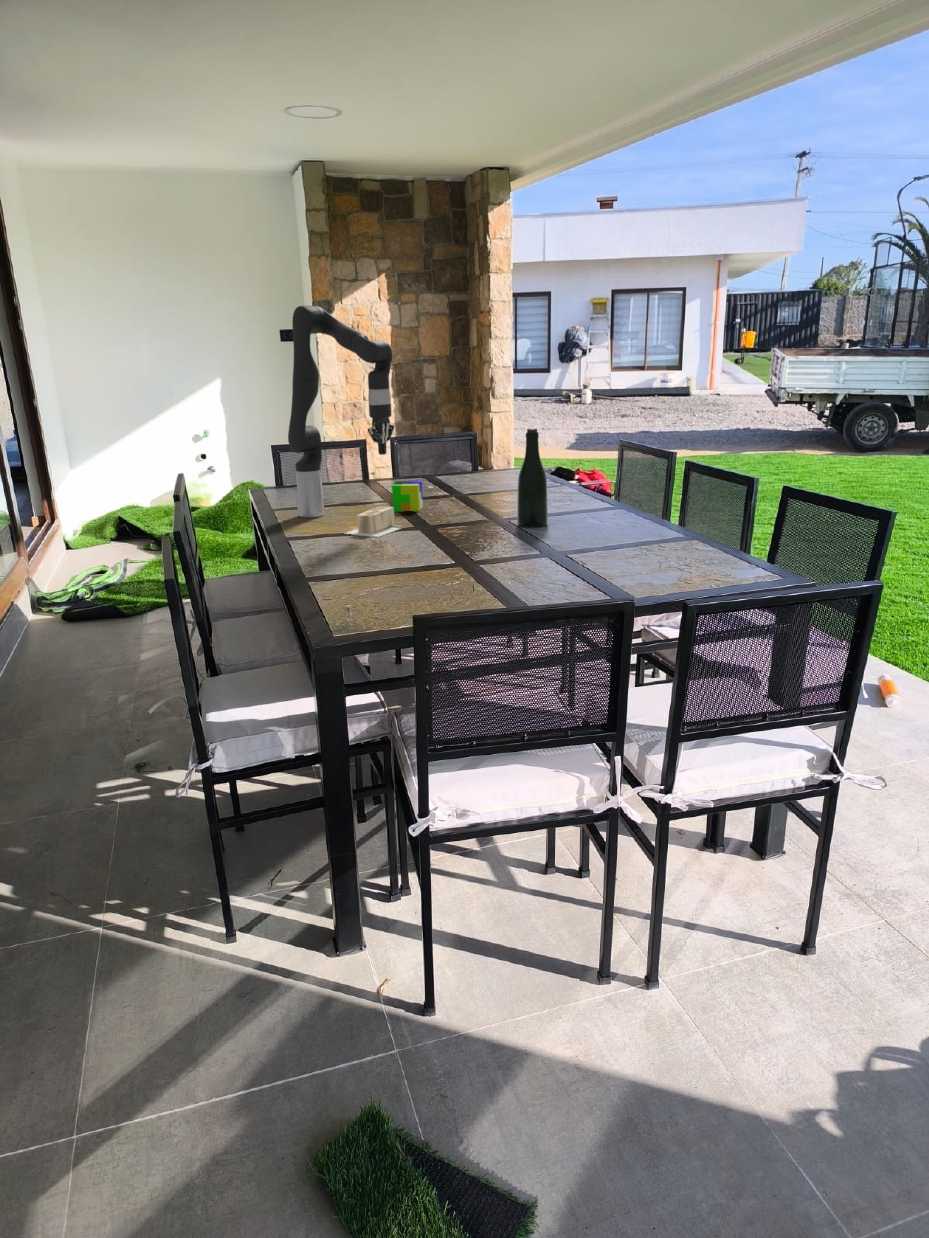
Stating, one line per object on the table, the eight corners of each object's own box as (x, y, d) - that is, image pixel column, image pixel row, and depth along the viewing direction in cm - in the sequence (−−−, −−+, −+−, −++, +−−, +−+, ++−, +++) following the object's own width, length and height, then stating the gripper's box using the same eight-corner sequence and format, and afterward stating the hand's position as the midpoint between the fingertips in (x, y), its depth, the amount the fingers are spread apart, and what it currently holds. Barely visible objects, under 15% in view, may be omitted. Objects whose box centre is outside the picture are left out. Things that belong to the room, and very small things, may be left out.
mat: (344, 534, 286) (344, 531, 286) (369, 525, 299) (369, 523, 299) (378, 537, 280) (378, 535, 280) (402, 528, 292) (402, 526, 292)
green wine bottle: (513, 527, 289) (512, 429, 278) (522, 521, 298) (522, 426, 287) (542, 528, 285) (542, 430, 274) (551, 522, 294) (551, 426, 283)
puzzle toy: (422, 506, 330) (421, 481, 326) (419, 511, 320) (417, 485, 317) (397, 506, 331) (396, 481, 327) (393, 511, 321) (391, 485, 318)
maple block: (381, 522, 298) (358, 532, 287) (380, 505, 296) (356, 515, 285) (395, 523, 295) (372, 533, 284) (394, 507, 293) (370, 516, 282)
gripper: (382, 401, 291) (384, 451, 297) (359, 404, 280) (362, 456, 286) (399, 401, 287) (402, 452, 293) (377, 404, 277) (380, 457, 282)
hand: (382, 454), depth 289 cm, fingers closed
